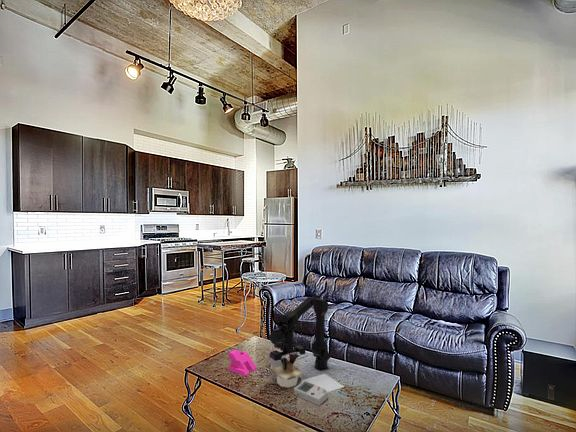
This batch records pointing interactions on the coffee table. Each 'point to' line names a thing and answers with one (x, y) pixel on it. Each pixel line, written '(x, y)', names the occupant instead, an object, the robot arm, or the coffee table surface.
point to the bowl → (287, 381)
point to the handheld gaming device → (311, 392)
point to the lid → (287, 371)
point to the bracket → (241, 363)
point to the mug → (271, 361)
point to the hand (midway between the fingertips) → (287, 369)
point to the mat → (324, 382)
